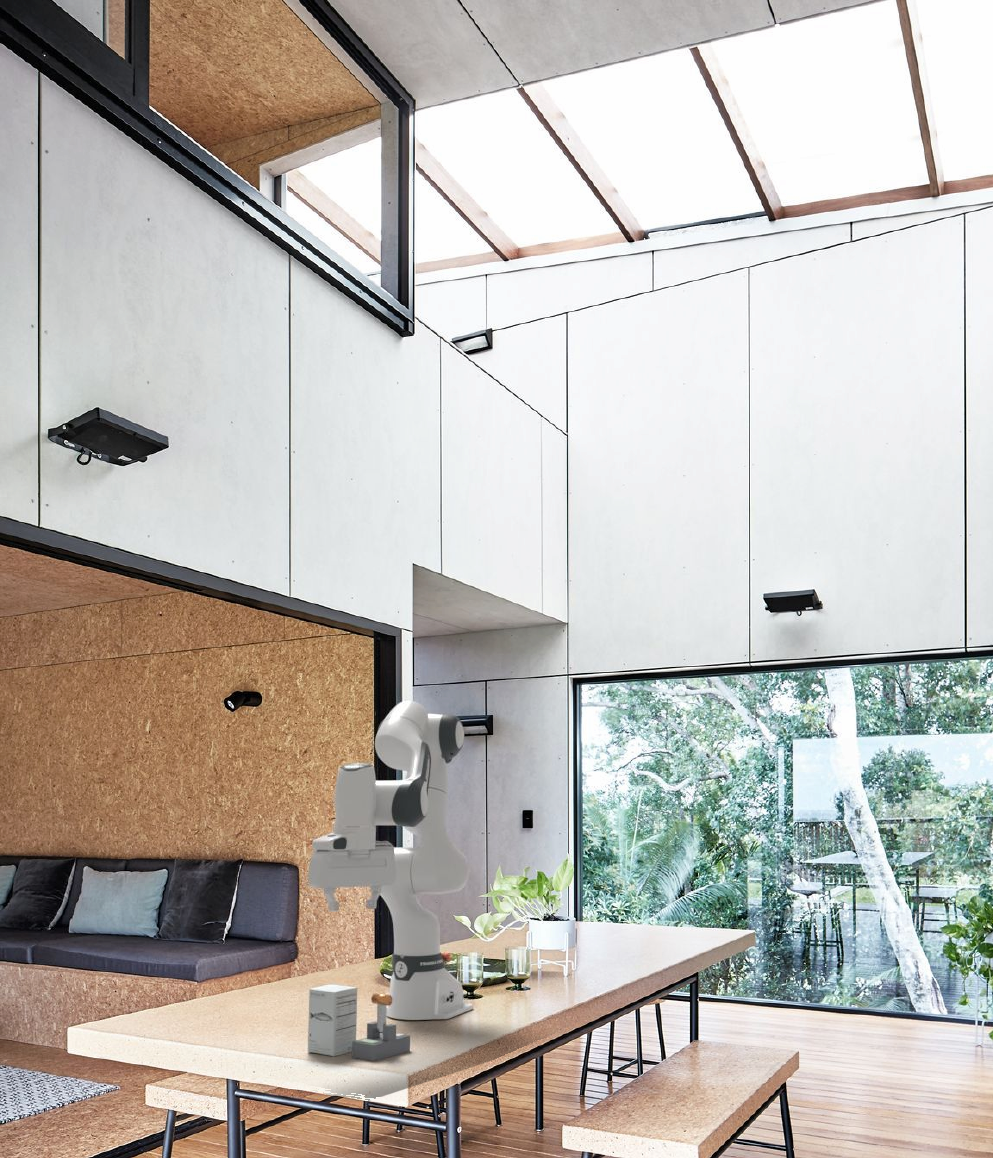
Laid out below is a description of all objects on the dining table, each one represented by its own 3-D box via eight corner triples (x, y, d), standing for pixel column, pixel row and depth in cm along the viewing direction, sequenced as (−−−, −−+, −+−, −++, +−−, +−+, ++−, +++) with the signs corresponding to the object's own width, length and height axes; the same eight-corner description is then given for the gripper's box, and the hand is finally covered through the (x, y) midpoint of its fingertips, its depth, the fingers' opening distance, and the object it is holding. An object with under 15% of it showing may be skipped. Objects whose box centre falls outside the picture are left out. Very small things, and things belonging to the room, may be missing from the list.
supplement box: (306, 1052, 235) (307, 988, 237) (330, 1045, 241) (331, 983, 243) (333, 1057, 231) (334, 991, 233) (357, 1050, 237) (358, 986, 239)
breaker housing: (388, 1046, 239) (388, 1017, 240) (410, 1050, 236) (410, 1021, 237) (351, 1057, 231) (352, 1026, 232) (374, 1061, 227) (374, 1030, 228)
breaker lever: (377, 1031, 236) (377, 992, 237) (392, 1033, 234) (392, 994, 235) (370, 1032, 234) (371, 994, 236) (385, 1035, 232) (386, 995, 233)
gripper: (385, 840, 249) (383, 906, 246) (305, 841, 235) (302, 911, 232) (403, 840, 244) (401, 908, 241) (322, 841, 230) (320, 912, 228)
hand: (352, 909), depth 236 cm, fingers open, 8 cm apart
